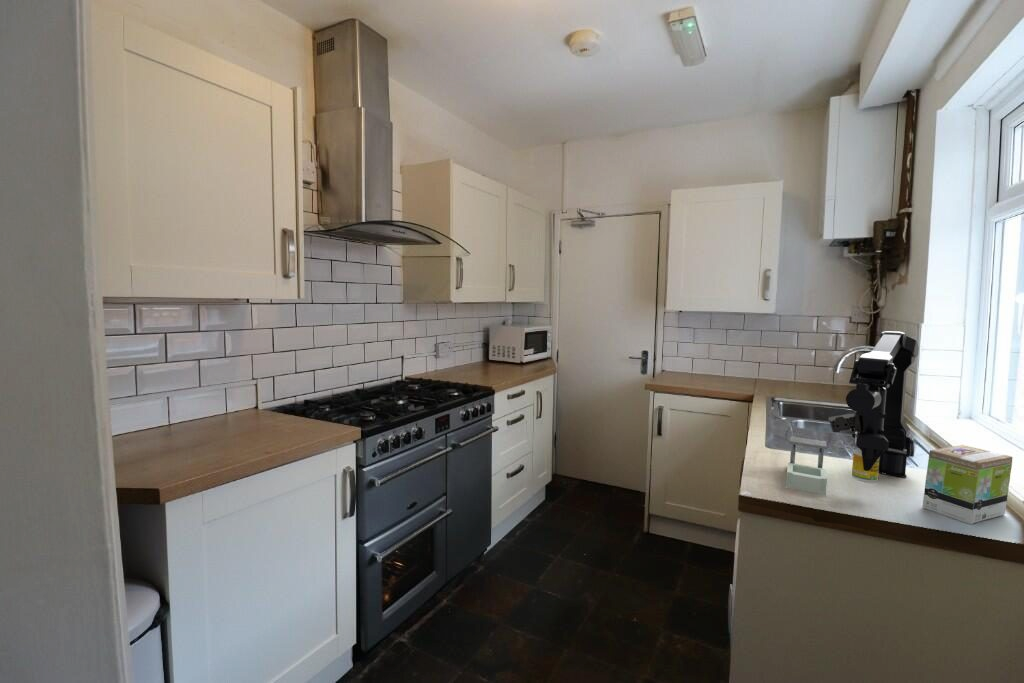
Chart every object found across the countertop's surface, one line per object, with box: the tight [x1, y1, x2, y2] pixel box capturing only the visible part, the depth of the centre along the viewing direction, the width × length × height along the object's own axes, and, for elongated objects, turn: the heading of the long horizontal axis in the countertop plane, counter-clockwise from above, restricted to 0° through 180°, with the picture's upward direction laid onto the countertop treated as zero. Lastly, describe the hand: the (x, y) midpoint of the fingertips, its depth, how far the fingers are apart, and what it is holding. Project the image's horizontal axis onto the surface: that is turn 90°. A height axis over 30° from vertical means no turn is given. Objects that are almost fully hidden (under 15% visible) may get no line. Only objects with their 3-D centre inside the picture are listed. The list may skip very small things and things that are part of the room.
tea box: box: [922, 444, 1013, 525], centre depth 115 cm, size 15×10×15 cm, turn 114°
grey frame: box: [789, 436, 828, 468], centre depth 140 cm, size 9×6×8 cm, turn 59°
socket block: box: [785, 462, 828, 496], centre depth 134 cm, size 9×20×4 cm, turn 149°
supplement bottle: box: [851, 447, 880, 484], centre depth 121 cm, size 5×5×10 cm
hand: (865, 467), depth 121 cm, fingers closed on supplement bottle, 5 cm apart
